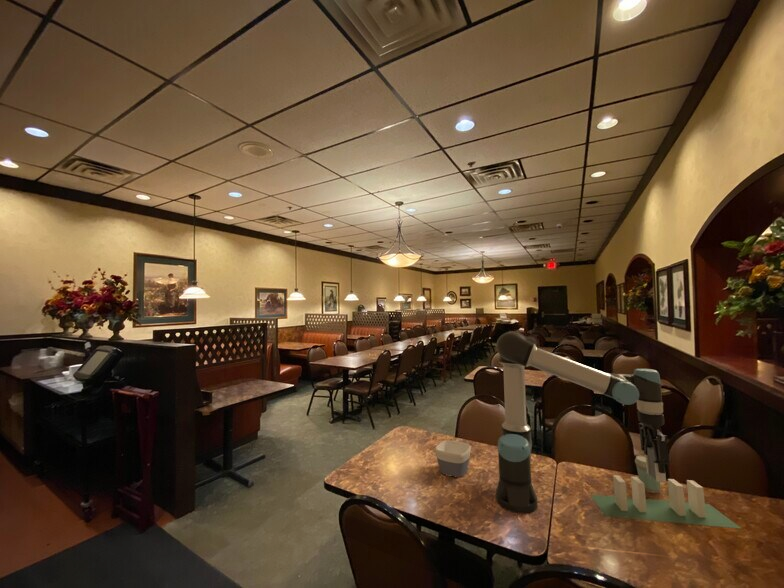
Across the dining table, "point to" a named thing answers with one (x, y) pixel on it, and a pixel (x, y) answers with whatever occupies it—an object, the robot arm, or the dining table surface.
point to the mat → (662, 512)
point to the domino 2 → (638, 494)
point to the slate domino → (651, 462)
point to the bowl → (453, 457)
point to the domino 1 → (620, 492)
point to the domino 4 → (696, 498)
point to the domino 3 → (676, 497)
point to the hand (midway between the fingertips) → (656, 477)
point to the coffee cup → (646, 476)
